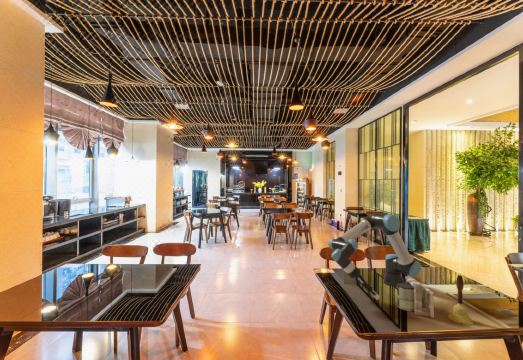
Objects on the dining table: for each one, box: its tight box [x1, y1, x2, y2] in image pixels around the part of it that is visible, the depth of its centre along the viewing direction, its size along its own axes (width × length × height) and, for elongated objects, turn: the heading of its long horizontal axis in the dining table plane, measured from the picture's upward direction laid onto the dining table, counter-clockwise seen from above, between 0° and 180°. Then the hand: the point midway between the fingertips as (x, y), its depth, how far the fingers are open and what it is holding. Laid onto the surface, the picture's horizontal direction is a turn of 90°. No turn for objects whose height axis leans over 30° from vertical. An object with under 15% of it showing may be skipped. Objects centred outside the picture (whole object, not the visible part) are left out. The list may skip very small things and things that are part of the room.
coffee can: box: [396, 281, 415, 312], centre depth 172 cm, size 10×10×14 cm
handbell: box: [447, 274, 474, 325], centre depth 157 cm, size 12×12×25 cm
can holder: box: [404, 275, 435, 319], centre depth 169 cm, size 20×9×18 cm, turn 169°
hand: (378, 298), depth 173 cm, fingers closed
